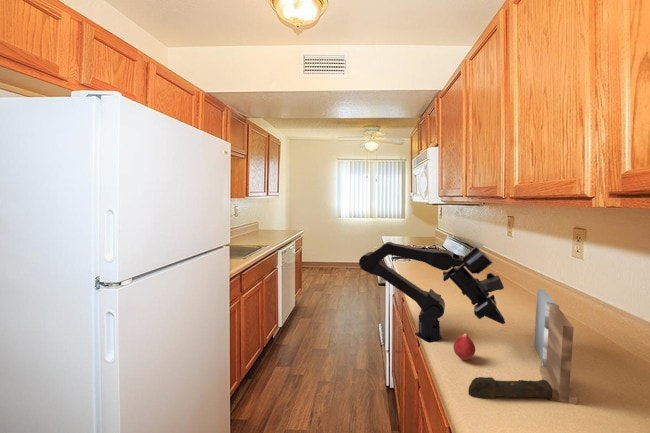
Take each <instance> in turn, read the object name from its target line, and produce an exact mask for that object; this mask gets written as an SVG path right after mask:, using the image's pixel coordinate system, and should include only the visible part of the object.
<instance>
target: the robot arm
mask: <svg viewBox="0 0 650 433" xmlns="http://www.w3.org/2000/svg"><path fill="white" fill-rule="evenodd" d="M388 256H392V257H393V256H394V257H398V258H404V259H408V260H413V261H418V262H422V263H425V264H427V265H429V266H431V267H433V268H434V269H435V268H436V269H438V270H441V271H442V275H443V279H442V281H443V282H446V281H448V280H449V279H450V280H451V281H452V283H453V284H454V285H456V287H457V288H459V290H460V291H461V294H462V295H463V296H466V297H467V298H468V299H469V300H470V304H472V306H474V307H473V314H474V315H475V317H476V318H477V319H479V320H481V319H483V318H484V317H486V318H488V319H491V320H492V321H494V322H496V323H498V324H501V325H504V324H505V323H506V321H505V317H504V316H503V315H502V313H501V311H500V310H499V308H498V306H497V301H496V300H495V299H496V298H495V295H494V294H492V295H490V293H493V292H496V291H501V290H504V289H505V287H504V284H503V281H502V280H501V278H500V275H498V274H496V275H495V274H494V273H492V272H489V273H486V277H485V278H484V279H482V280H480V279H479V278H477V277H475V276H473V275H472V274H474V275H475V274H477V275H479V274H480V273H481V272H483V271H484V270H486V269H487V268H488V267H490V265H492V264H494V262H493V260H492V259H490V257H489V256H488V255H487V254H486V253H485V252H484V251H482V250H480V249H479V248H478V247H477V246H474V247H473V248H472V249H471V251H470V252H468V253H466V254H465V255H460V254H455V253H453V252H452V251H451V250H448V249H443V248H441V249H439V248H435V249H424V248H419V247H415V246H409V245H406V244H400V243H394V242H391V241H386V242H385V243H384V244H383V245H381V246H380V247H379V248H377V249H376V250H375V251H367V252H366V253H365V254H363V255H362V256H361V257H360V258H359V260H358V266H359V268H360V269H361V271H362V270H363V271H364V272H365V273H368V274H370V275H372V276H376V277H380V278H381V279H383V280H384V281H386V282H387V283H389V285H391V286H393V287H394V288H396V289H397V290H398V291H400V292H402V294H404V295H406V296H407V297H409V298H410V299H412V301H414V302H416V304H417V305H418V307H419V308H420V312H419V313H418V331H417V332H415V333H414V335H415V336H416V337H418V338H420V339H422V340H424V341H426V342H427V343H431V342H434V341H437V340H440V339H441V340H442V339H443V335H441V326H440V320H439V319H441V318H442V317H443V316H444V314H445V308H446V302H445V300H444V298H442V294H438V293H437V292H436V291H434V290H433V289H432V288H429V291H427V290H424V289H422V288H420V287H419V286H417V285H416V284H414V283H413V282H411V281H410V280H409V279H407V278H405V276H402V275H401V274H400V273H398V272H396V271H395V270H394V269H392V268H391V267H390V266H388V265H387V264H386V262H385V261H384V260H383V259H384V258H386V257H388Z"/></svg>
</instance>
